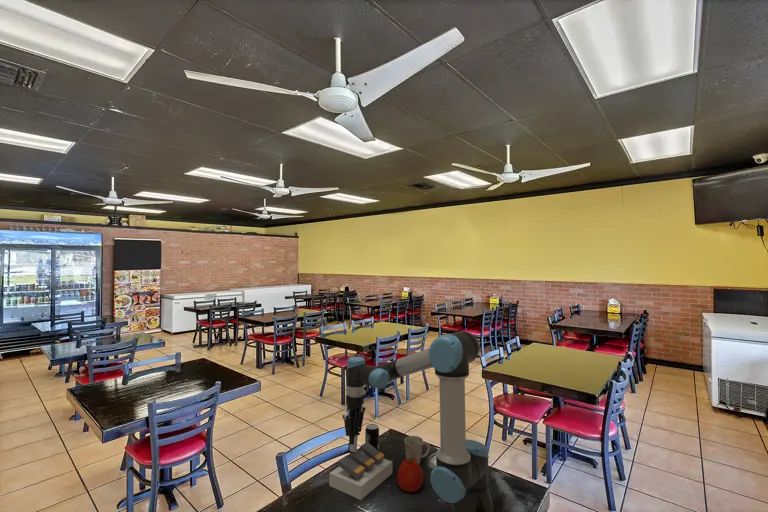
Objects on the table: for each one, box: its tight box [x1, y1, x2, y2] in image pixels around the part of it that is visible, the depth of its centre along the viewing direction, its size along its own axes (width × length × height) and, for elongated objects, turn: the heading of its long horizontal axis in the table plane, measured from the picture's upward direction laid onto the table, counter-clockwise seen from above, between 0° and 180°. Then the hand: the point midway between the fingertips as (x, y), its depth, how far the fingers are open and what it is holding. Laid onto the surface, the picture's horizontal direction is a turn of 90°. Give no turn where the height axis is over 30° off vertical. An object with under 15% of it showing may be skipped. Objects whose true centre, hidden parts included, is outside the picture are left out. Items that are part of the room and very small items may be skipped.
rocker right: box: [359, 442, 385, 464], centre depth 156 cm, size 10×5×2 cm, turn 55°
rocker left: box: [337, 455, 365, 479], centre depth 144 cm, size 10×5×2 cm, turn 56°
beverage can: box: [364, 423, 380, 452], centre depth 173 cm, size 7×7×12 cm
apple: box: [397, 458, 424, 493], centre depth 145 cm, size 10×10×10 cm
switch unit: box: [328, 452, 393, 501], centre depth 150 cm, size 16×22×7 cm
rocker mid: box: [348, 449, 375, 471], centre depth 150 cm, size 10×5×2 cm, turn 56°
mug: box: [403, 435, 431, 465], centre depth 165 cm, size 8×13×10 cm, turn 115°
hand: (353, 450), depth 153 cm, fingers closed
